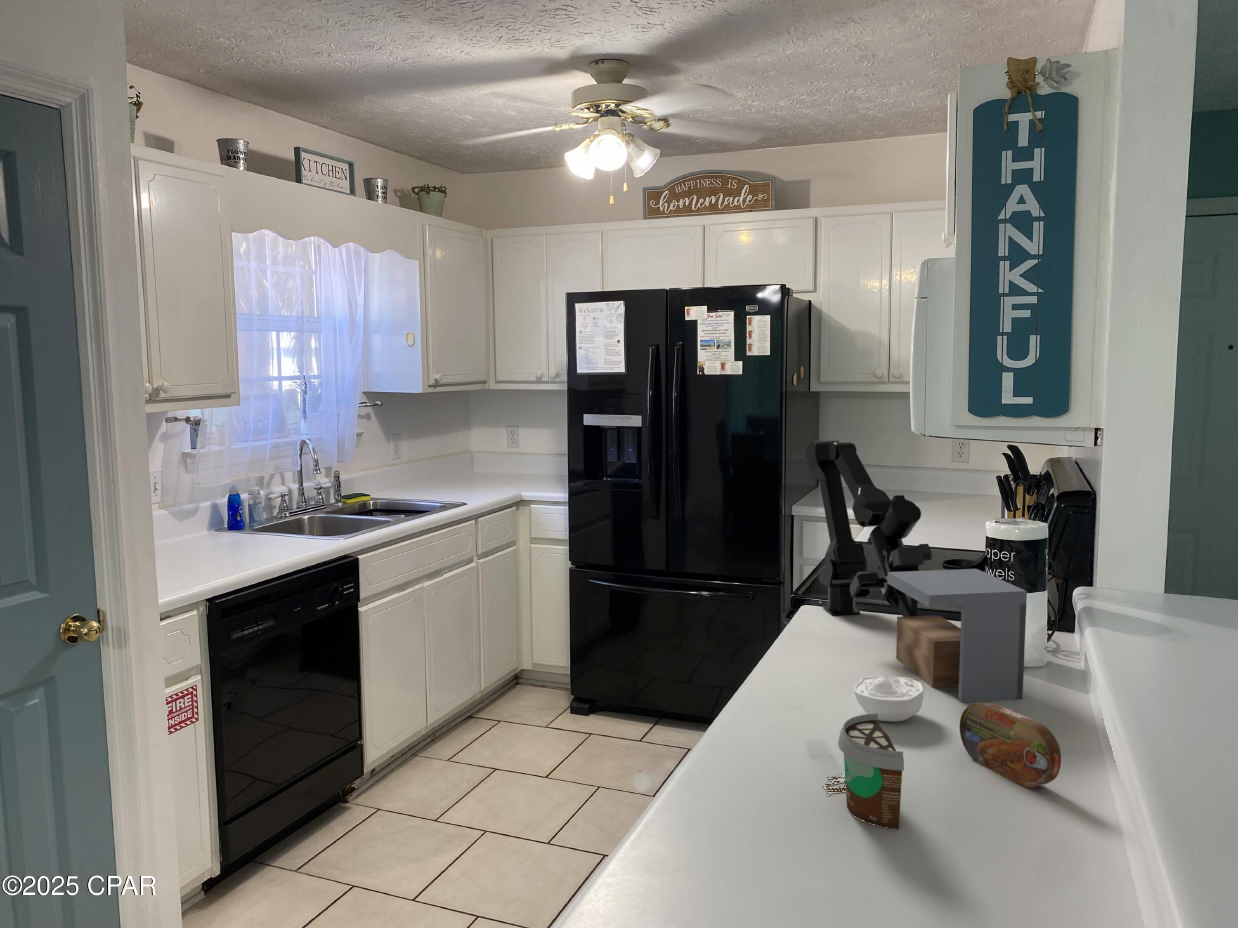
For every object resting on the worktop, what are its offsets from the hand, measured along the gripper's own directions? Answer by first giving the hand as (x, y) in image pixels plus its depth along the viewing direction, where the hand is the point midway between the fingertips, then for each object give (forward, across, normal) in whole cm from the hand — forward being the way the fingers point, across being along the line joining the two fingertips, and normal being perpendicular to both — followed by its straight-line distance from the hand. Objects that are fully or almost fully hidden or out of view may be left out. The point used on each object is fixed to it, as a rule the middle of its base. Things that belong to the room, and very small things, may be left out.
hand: (913, 622), depth 164 cm
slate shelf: (+15, 0, -5) cm, 16 cm away
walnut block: (+10, 0, -1) cm, 10 cm away
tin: (+38, -8, -28) cm, 47 cm away
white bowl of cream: (+23, -16, -14) cm, 31 cm away
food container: (+42, -31, -33) cm, 62 cm away
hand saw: (+32, -30, -22) cm, 49 cm away
